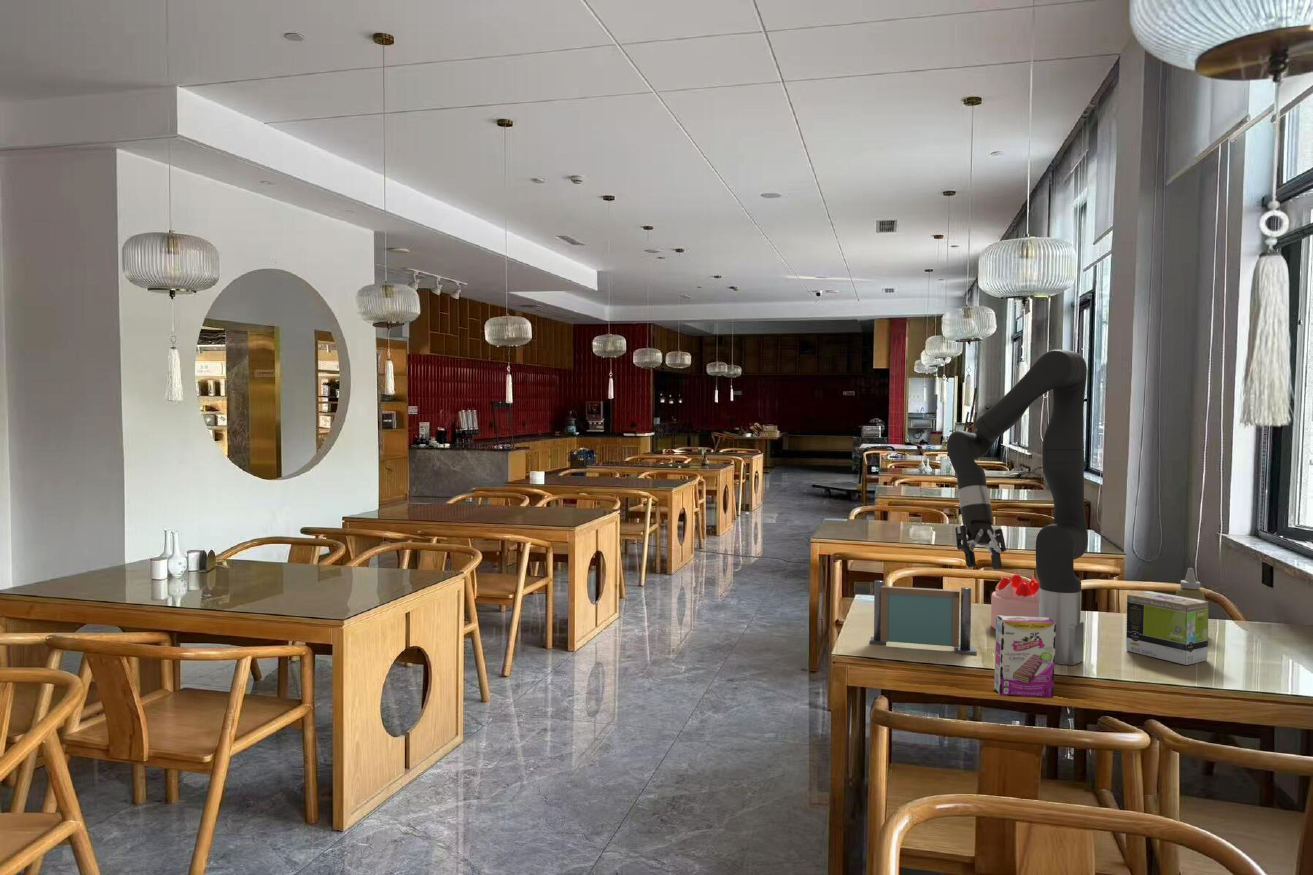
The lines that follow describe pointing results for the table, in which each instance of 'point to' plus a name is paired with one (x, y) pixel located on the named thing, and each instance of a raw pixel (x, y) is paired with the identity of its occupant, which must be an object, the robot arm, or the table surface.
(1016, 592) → the cake
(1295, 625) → the table surface
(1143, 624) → the tea box
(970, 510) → the robot arm
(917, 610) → the gate leaf
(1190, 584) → the squeeze bottle
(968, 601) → the gate posts
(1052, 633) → the candy bar box
